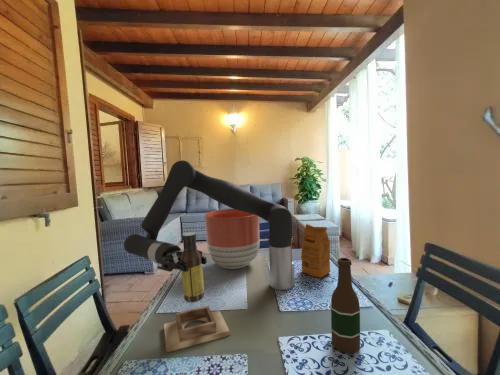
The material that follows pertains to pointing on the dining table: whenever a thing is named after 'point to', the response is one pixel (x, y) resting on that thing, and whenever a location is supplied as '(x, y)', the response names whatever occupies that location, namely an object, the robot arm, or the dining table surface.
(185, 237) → the sauce bottle
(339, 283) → the beer bottle
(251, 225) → the planter
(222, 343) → the dining table surface
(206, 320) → the socket board
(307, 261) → the coffee package
